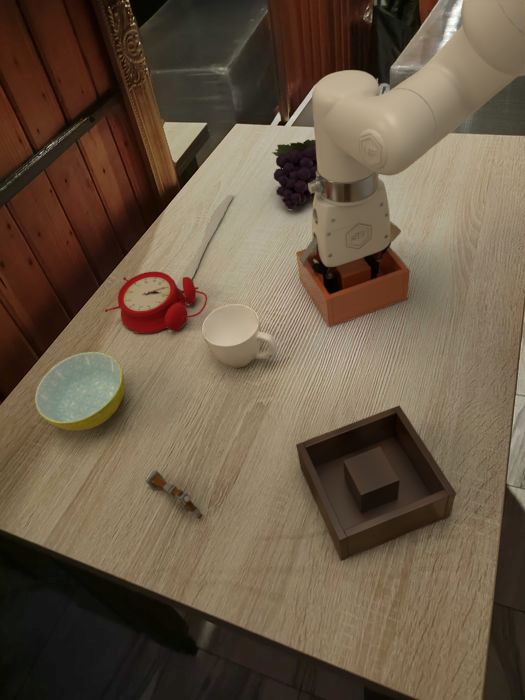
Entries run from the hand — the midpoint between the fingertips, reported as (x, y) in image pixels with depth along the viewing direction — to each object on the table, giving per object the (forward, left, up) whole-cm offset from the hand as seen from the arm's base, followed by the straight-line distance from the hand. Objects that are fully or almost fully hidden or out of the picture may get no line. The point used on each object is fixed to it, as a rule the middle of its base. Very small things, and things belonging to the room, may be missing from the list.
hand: (351, 284), depth 81 cm
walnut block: (+12, +31, 0) cm, 33 cm away
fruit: (-3, -28, -1) cm, 28 cm away
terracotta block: (0, 0, 0) cm, 0 cm away
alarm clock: (+28, -9, -1) cm, 30 cm away
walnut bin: (+12, +31, -1) cm, 33 cm away
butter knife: (+17, -23, -1) cm, 29 cm away
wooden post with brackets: (+33, +23, -1) cm, 40 cm away
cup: (+19, +6, -1) cm, 20 cm away
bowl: (+41, +6, -1) cm, 41 cm away
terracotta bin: (0, 0, -1) cm, 1 cm away
